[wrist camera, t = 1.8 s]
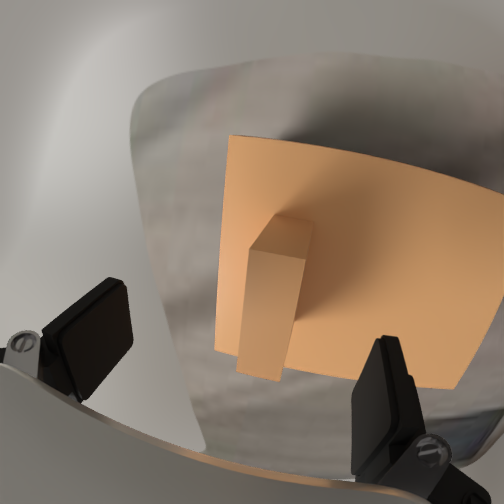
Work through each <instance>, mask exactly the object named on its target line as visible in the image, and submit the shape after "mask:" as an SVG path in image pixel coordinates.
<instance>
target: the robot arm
mask: <svg viewBox="0 0 504 504" xmlns="http://www.w3.org/2000/svg"><path fill="white" fill-rule="evenodd" d="M128 303H129V302H128V294H127V287H126V286H125V285H124V283H123V281H122V280H119V279H115V278H112V277H108V278H107V279H105V280H104V281H103V282H101V283H100V284H99V285H97V286H96V287H95V288H93V289H92V290H91V291H89V292H88V293H87V294H86V295H84V296H83V297H82V298H81V299H79V300H78V301H77V302H75V303H74V304H73V305H71V306H70V307H69V308H68V309H66V310H65V311H64V312H63V313H62V314H60V315H59V316H58V317H57V318H55V319H54V320H53V321H52V322H50V323H49V324H48V325H47V326H46V327H44V328H43V329H42V333H43V336H42V337H41V338H40V336H39V335H38V334H37V333H36V332H34V331H27V330H26V331H21V332H19V333H16V334H15V335H13V336H12V337H11V338H10V339H9V341H8V343H7V347H6V348H0V504H491V497H490V495H489V493H488V492H487V491H486V490H485V489H484V488H483V487H482V486H480V485H479V484H478V483H476V482H475V481H473V480H472V479H471V478H469V477H468V476H466V475H465V474H464V473H463V472H461V471H460V470H459V469H457V468H456V467H455V466H453V465H452V464H451V463H450V462H451V459H452V450H451V447H450V445H449V444H448V442H447V441H446V440H445V439H444V438H443V437H441V436H439V435H437V434H432V433H428V434H426V430H425V425H424V420H423V416H422V411H421V407H420V402H419V398H418V394H417V390H416V385H415V382H414V378H413V376H412V375H409V374H408V370H407V366H406V362H405V359H404V355H403V351H402V348H401V344H400V341H399V338H398V337H396V336H389V335H382V336H381V338H376V339H375V341H374V344H373V346H372V349H371V351H370V354H369V356H368V358H367V361H366V363H365V365H364V368H363V370H362V372H361V374H360V376H359V379H358V381H357V383H356V385H355V387H354V389H353V392H352V398H351V404H352V456H351V474H352V475H356V478H355V482H349V481H341V480H330V479H321V478H313V477H306V476H299V475H293V474H287V473H281V472H275V471H270V470H265V469H260V468H255V467H251V466H246V465H242V464H238V463H234V462H230V461H226V460H222V459H219V458H215V457H211V456H208V455H205V454H201V453H198V452H195V451H192V450H188V449H185V448H182V447H180V446H177V445H174V444H171V443H168V442H165V441H163V440H160V439H157V438H155V437H152V436H149V435H147V434H144V433H142V432H140V431H137V430H135V429H133V428H130V427H128V426H126V425H123V424H121V423H119V422H116V421H115V420H112V419H110V418H108V417H106V416H104V415H102V414H100V413H98V412H96V411H94V410H92V409H90V408H88V407H86V406H84V405H82V404H81V403H82V401H83V400H87V399H88V398H89V397H90V396H91V395H92V394H93V392H94V391H95V390H96V389H97V387H98V386H99V385H100V384H101V383H102V381H103V380H104V379H105V378H106V377H107V375H108V374H109V373H110V372H111V371H112V369H113V368H114V367H115V366H116V365H117V363H118V362H119V361H120V360H121V359H122V357H123V356H124V355H125V354H126V353H127V351H128V350H129V349H130V348H131V347H132V344H133V333H132V325H131V318H130V311H129V304H128Z"/></svg>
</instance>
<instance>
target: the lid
mask: <svg viewBox="0 0 504 504" xmlns="http://www.w3.org/2000/svg"><path fill="white" fill-rule="evenodd" d="M503 296H504V194H502V193H499V192H496V191H494V190H491V189H488V188H485V187H482V186H480V185H477V184H474V183H471V182H468V181H465V180H462V179H458V178H455V177H452V176H449V175H445V174H442V173H439V172H435V171H432V170H428V169H425V168H421V167H417V166H413V165H410V164H406V163H402V162H398V161H393V160H389V159H385V158H381V157H376V156H372V155H367V154H362V153H357V152H352V151H347V150H342V149H337V148H331V147H325V146H319V145H313V144H307V143H300V142H293V141H286V140H278V139H270V138H262V137H253V136H243V135H229V144H228V155H227V166H226V177H225V189H224V201H223V214H222V228H221V242H220V257H219V272H218V289H217V308H216V328H215V350H216V351H219V352H223V353H227V354H231V355H235V356H238V359H237V369H236V372H239V373H243V374H247V375H251V376H255V377H260V378H264V379H268V380H273V381H277V382H280V378H281V374H282V370H283V367H286V368H291V369H296V370H301V371H306V372H312V373H317V374H323V375H329V376H335V377H341V378H347V379H354V380H358V379H359V376H360V374H361V372H362V370H363V368H364V365H365V363H366V361H367V358H368V356H369V354H370V351H371V349H372V346H373V344H374V341H375V339H376V338H381V336H382V335H389V336H396V337H398V338H399V341H400V344H401V348H402V351H403V355H404V359H405V362H406V366H407V370H408V374H409V375H412V376H413V378H414V382H415V385H416V387H424V388H439V389H454V388H455V386H456V385H457V383H458V382H459V380H460V378H461V377H462V375H463V374H464V372H465V370H466V369H467V367H468V365H469V364H470V362H471V360H472V358H473V357H474V355H475V353H476V351H477V350H478V348H479V346H480V344H481V342H482V340H483V338H484V336H485V334H486V333H487V331H488V329H489V327H490V324H491V322H492V320H493V318H494V316H495V314H496V312H497V310H498V307H499V305H500V303H501V301H502V298H503Z"/></svg>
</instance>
